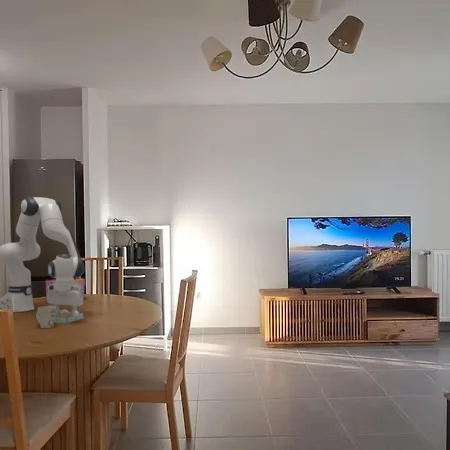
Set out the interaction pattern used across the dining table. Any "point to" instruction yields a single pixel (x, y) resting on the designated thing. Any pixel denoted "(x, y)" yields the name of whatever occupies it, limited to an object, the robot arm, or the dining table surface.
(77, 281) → the gum box
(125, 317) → the dining table surface
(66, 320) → the egg tray
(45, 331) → the dining table surface
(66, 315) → the brown egg
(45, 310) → the mug
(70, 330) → the dining table surface
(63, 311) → the white egg
